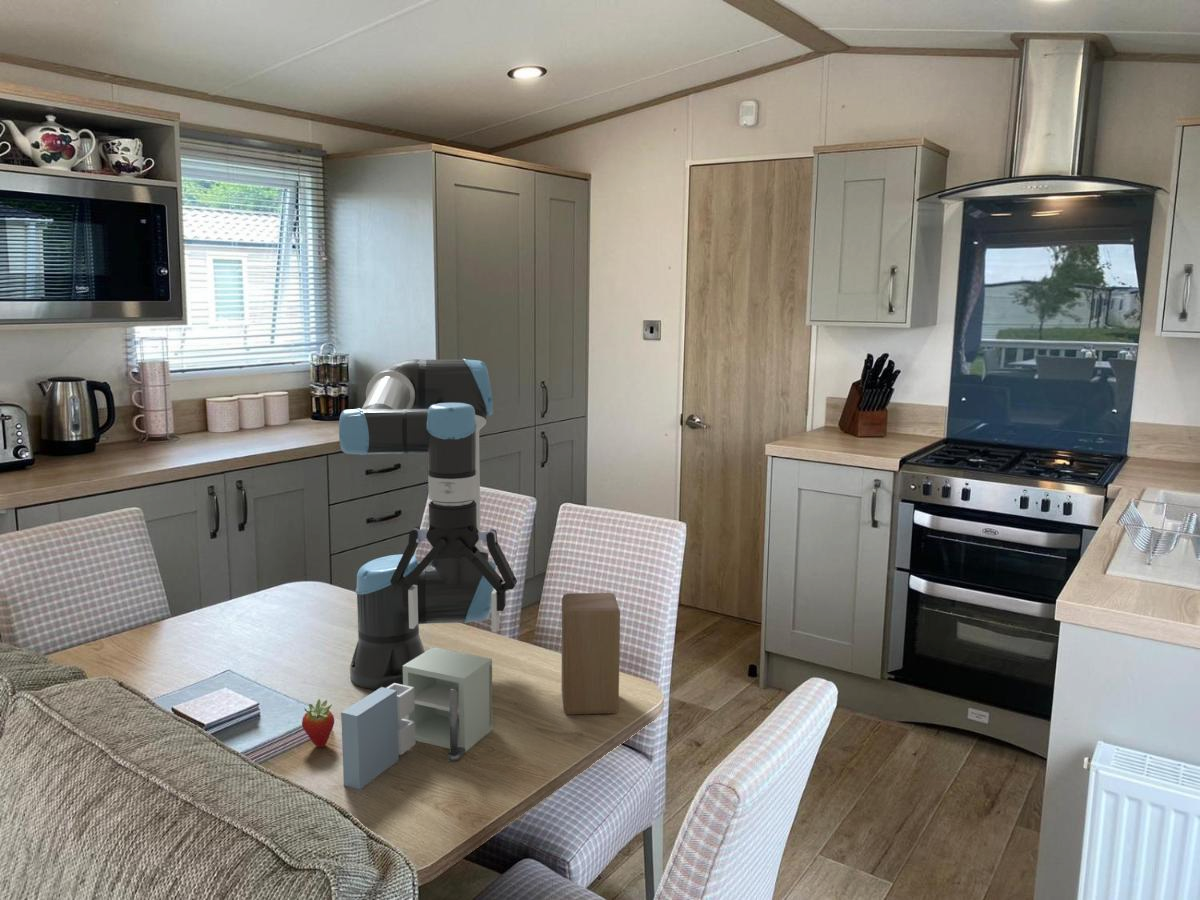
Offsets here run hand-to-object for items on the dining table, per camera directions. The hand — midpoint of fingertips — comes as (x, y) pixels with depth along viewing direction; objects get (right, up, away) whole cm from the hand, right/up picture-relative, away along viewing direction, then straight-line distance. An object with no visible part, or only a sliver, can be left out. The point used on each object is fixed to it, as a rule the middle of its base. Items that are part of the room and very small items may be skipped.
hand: (454, 627), depth 153 cm
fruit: (-23, -21, +3) cm, 31 cm away
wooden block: (+22, -18, +20) cm, 35 cm away
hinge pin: (0, -21, 0) cm, 21 cm away
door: (-12, -22, -3) cm, 25 cm away
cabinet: (-2, -20, +8) cm, 21 cm away
